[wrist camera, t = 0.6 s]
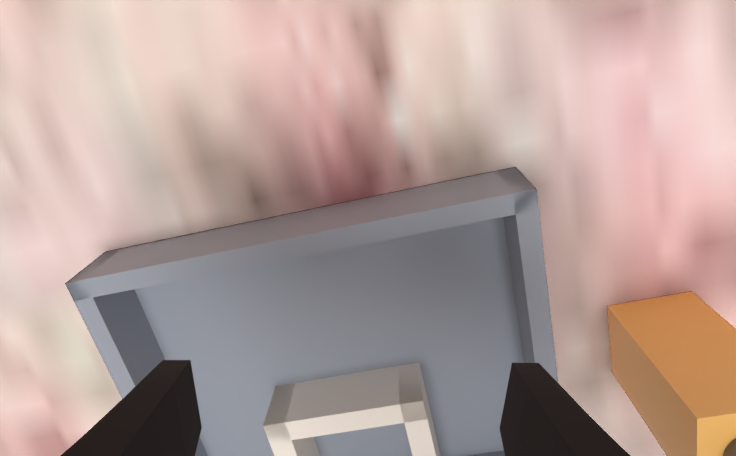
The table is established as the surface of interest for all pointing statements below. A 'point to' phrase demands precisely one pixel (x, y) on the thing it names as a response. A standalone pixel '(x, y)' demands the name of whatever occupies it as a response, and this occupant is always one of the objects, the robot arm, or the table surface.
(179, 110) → the table surface
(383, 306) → the tray
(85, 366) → the table surface
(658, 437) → the connector
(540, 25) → the table surface
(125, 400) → the robot arm
